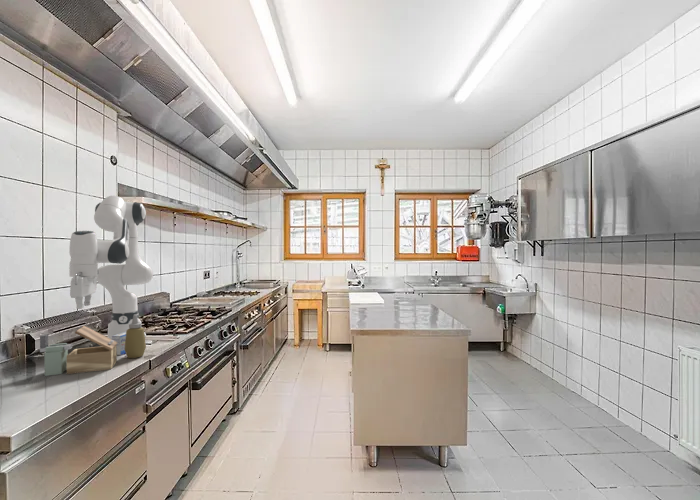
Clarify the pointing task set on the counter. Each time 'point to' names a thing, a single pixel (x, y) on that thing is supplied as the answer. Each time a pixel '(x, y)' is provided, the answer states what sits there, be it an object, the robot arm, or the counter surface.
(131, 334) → the squeeze bottle
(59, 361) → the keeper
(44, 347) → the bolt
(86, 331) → the lid
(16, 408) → the counter surface
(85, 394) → the counter surface
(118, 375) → the counter surface
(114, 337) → the medicine box
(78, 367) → the crate
